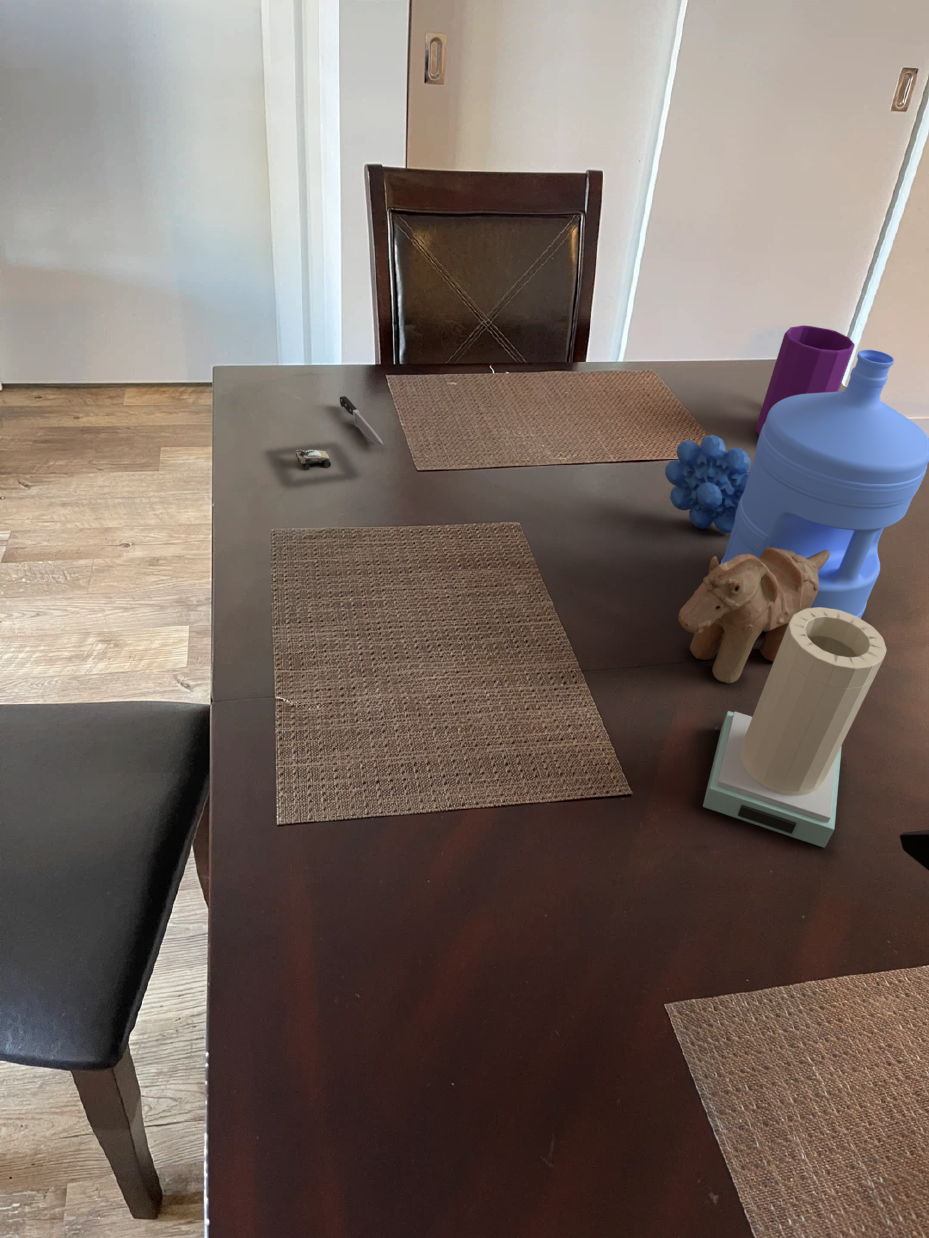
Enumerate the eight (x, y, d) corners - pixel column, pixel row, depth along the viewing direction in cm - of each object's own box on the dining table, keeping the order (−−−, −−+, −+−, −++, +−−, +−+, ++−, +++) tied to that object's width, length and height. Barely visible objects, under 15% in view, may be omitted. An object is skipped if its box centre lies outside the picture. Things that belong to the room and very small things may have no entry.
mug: (753, 446, 128) (785, 344, 119) (755, 401, 140) (784, 305, 131) (820, 459, 127) (857, 356, 117) (816, 413, 139) (850, 316, 129)
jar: (841, 773, 76) (905, 646, 67) (789, 808, 73) (848, 680, 64) (775, 722, 80) (827, 596, 72) (722, 753, 77) (770, 625, 68)
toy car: (331, 467, 115) (330, 452, 114) (299, 471, 114) (299, 457, 112) (325, 457, 117) (325, 443, 115) (294, 461, 115) (293, 447, 114)
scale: (824, 850, 73) (836, 827, 72) (701, 808, 76) (710, 785, 74) (832, 764, 81) (844, 741, 79) (721, 729, 83) (729, 705, 82)
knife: (385, 455, 118) (386, 441, 117) (380, 456, 118) (380, 442, 117) (344, 407, 128) (344, 394, 127) (339, 408, 128) (339, 394, 127)
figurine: (636, 669, 89) (669, 543, 80) (761, 619, 97) (805, 498, 88) (687, 717, 84) (729, 588, 75) (814, 660, 92) (866, 537, 83)
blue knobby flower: (645, 532, 109) (667, 442, 101) (658, 505, 114) (680, 418, 106) (743, 559, 106) (772, 468, 98) (751, 530, 111) (780, 442, 103)
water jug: (687, 570, 103) (754, 329, 86) (800, 550, 108) (886, 319, 91) (767, 657, 92) (863, 401, 74) (890, 631, 97) (1007, 385, 79)
